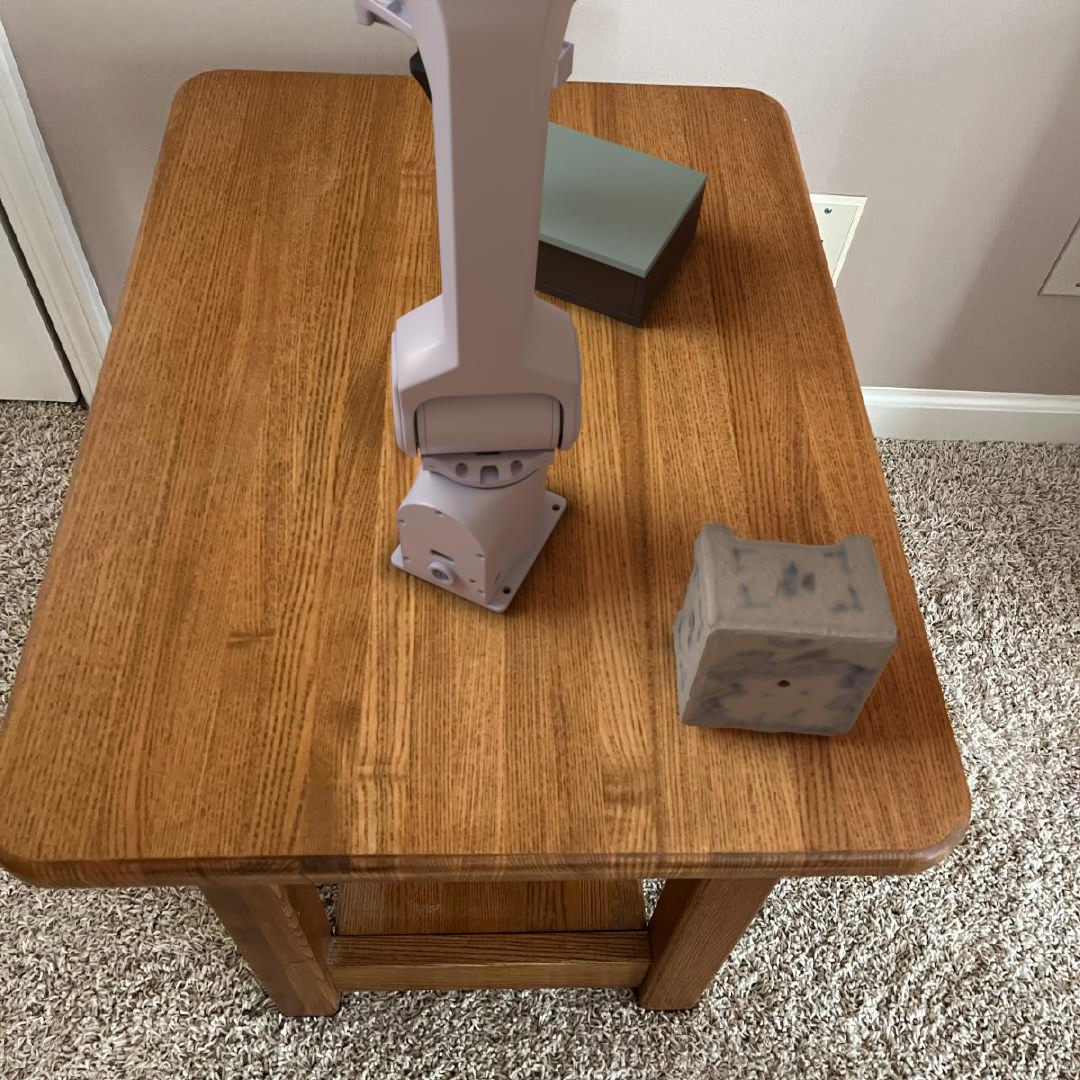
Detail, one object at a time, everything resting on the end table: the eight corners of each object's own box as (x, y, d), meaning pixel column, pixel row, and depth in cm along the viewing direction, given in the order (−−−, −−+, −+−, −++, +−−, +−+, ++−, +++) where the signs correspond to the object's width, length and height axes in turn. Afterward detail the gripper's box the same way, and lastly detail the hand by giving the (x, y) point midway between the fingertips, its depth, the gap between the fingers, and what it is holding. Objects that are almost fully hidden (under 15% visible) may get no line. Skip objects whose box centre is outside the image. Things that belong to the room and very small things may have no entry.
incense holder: (828, 618, 61) (885, 523, 52) (844, 745, 56) (909, 665, 47) (670, 607, 60) (700, 510, 52) (672, 734, 56) (706, 651, 47)
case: (639, 328, 74) (648, 273, 69) (479, 268, 76) (478, 212, 72) (694, 238, 80) (706, 182, 75) (544, 185, 82) (547, 129, 78)
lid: (644, 278, 69) (646, 270, 68) (473, 216, 71) (473, 208, 71) (706, 182, 75) (708, 174, 74) (547, 128, 78) (547, 120, 77)
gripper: (602, -55, 57) (583, 151, 68) (387, -118, 60) (403, 89, 71) (548, 0, 53) (538, 208, 65) (323, -69, 56) (351, 140, 68)
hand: (464, 149), depth 68 cm, fingers closed
